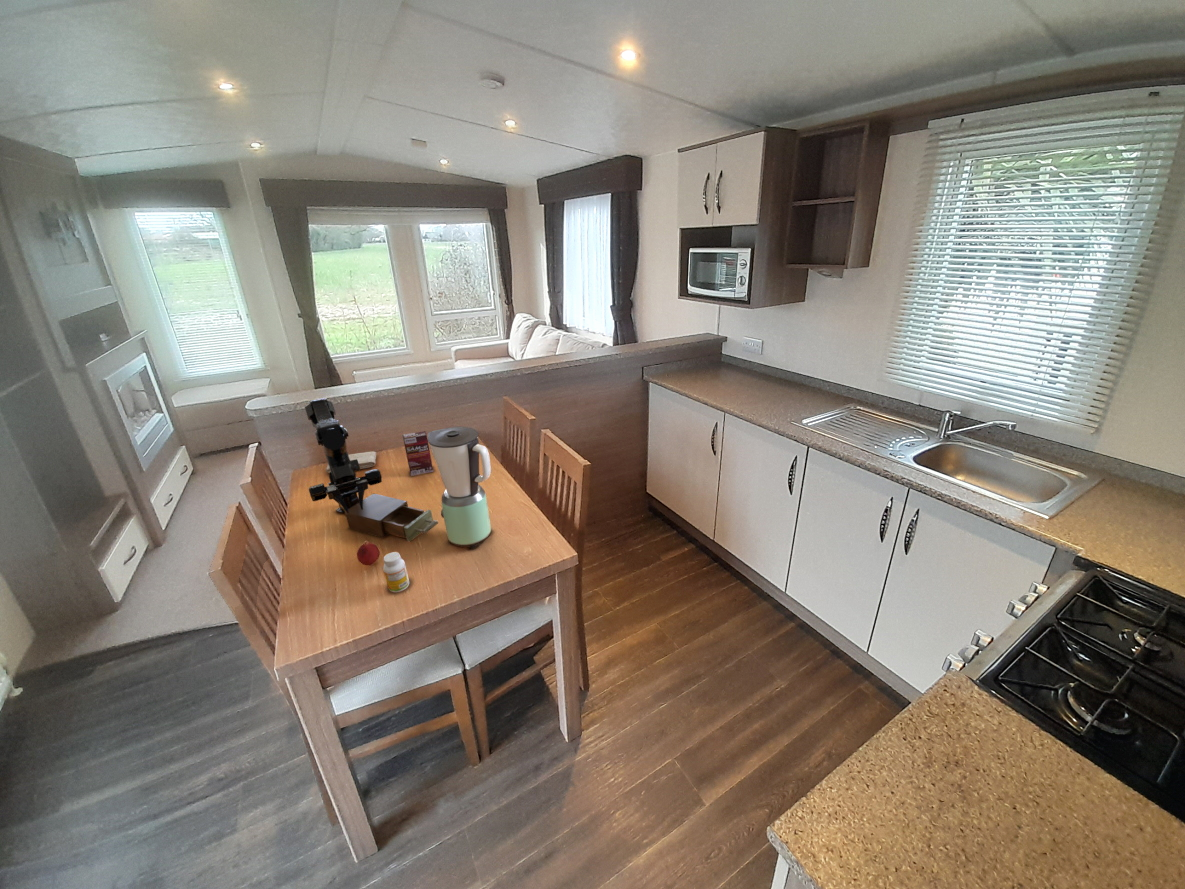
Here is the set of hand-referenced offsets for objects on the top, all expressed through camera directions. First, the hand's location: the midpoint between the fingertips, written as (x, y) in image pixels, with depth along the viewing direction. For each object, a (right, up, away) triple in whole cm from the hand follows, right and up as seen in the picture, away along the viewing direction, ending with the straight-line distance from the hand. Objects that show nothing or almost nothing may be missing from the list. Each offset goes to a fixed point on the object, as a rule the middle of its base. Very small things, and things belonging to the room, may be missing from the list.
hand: (355, 511), depth 136 cm
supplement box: (+1, +8, +50) cm, 51 cm away
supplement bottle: (+16, -19, -9) cm, 26 cm away
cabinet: (-1, -6, +19) cm, 20 cm away
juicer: (+31, -10, +10) cm, 34 cm away
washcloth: (-29, +11, +57) cm, 65 cm away
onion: (+5, -15, 0) cm, 16 cm away
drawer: (+11, -7, +14) cm, 19 cm away
